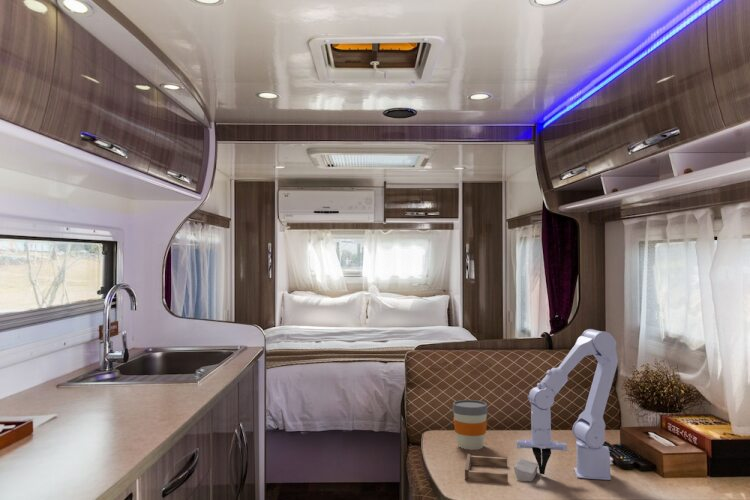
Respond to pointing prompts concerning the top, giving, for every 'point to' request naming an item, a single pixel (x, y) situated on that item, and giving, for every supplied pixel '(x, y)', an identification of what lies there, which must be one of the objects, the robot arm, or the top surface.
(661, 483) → the top surface
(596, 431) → the robot arm
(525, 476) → the white rough stone
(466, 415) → the reusable coffee cup
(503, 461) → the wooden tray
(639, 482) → the top surface
